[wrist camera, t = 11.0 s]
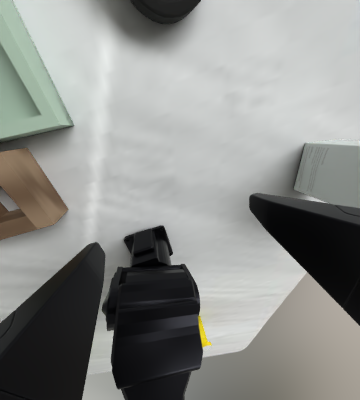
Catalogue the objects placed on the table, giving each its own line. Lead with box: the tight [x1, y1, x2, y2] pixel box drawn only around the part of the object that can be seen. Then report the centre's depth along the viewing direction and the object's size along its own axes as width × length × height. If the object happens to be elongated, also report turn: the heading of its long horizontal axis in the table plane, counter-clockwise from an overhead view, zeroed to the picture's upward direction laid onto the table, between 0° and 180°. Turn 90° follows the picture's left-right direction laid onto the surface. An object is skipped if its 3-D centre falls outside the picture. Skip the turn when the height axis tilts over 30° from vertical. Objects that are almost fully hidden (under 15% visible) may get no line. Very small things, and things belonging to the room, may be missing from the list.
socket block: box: [0, 148, 68, 240], centre depth 16 cm, size 8×8×4 cm
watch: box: [198, 316, 212, 351], centre depth 36 cm, size 6×3×6 cm, turn 12°
